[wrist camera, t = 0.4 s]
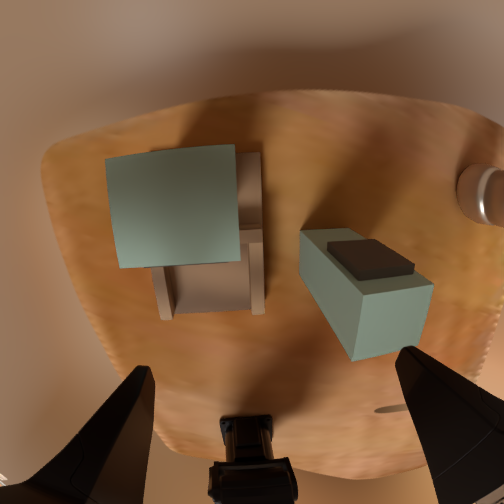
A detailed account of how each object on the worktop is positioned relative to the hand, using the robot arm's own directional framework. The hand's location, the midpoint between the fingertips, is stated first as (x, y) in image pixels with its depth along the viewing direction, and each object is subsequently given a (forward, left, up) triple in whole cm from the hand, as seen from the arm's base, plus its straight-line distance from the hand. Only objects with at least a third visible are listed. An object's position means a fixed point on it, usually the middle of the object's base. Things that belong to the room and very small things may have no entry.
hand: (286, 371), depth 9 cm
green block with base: (+1, +3, -16) cm, 16 cm away
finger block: (-1, -7, -16) cm, 17 cm away
